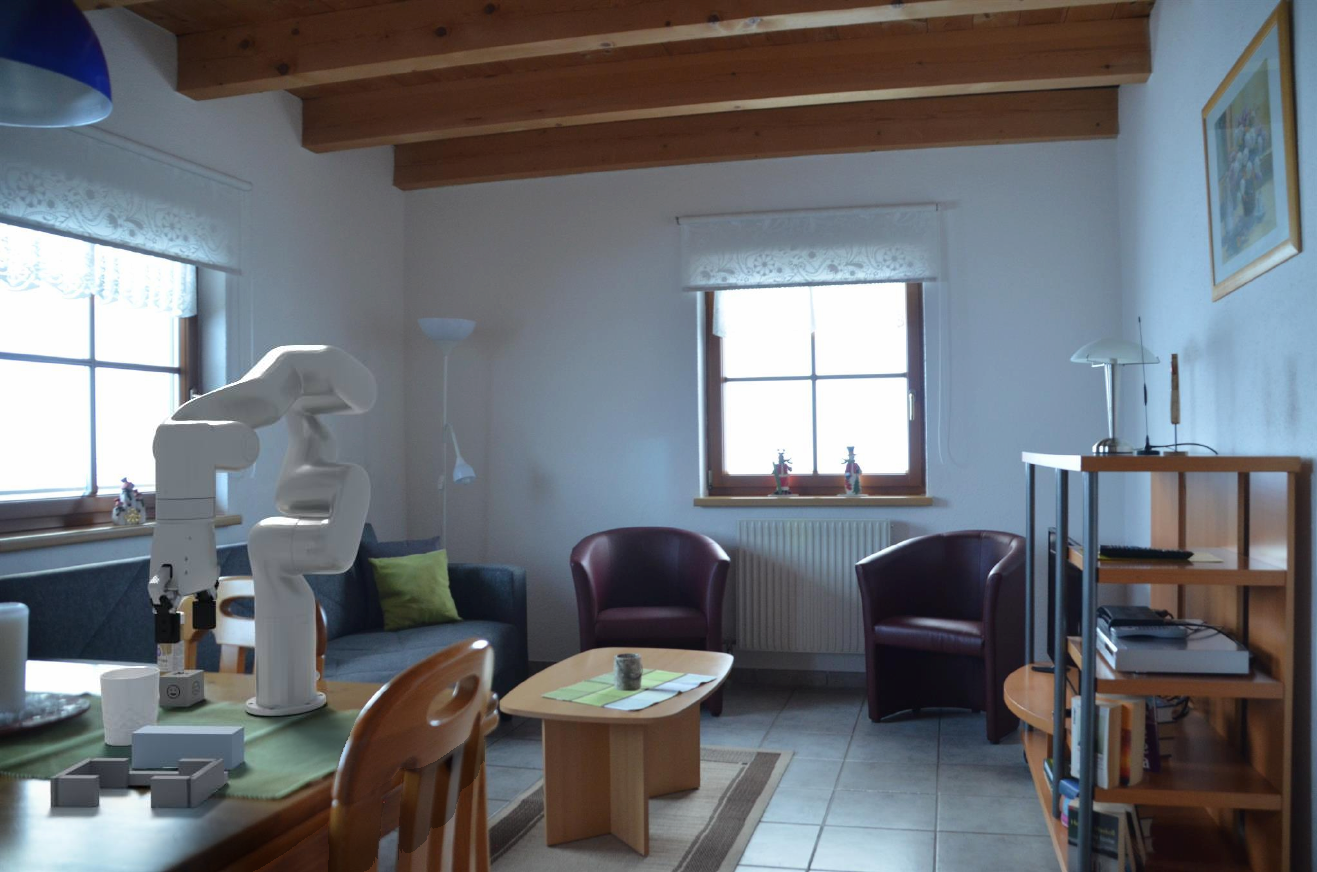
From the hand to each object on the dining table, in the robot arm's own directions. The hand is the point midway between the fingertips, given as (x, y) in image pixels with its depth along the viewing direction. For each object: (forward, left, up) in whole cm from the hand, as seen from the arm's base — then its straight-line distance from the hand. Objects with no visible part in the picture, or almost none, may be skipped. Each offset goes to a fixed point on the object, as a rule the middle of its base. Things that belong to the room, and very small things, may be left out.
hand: (186, 635), depth 137 cm
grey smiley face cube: (-32, -17, -18) cm, 40 cm away
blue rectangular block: (0, 0, -18) cm, 18 cm away
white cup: (-11, -14, -18) cm, 26 cm away
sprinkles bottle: (-41, -24, -18) cm, 51 cm away
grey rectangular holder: (+12, 0, -18) cm, 21 cm away
